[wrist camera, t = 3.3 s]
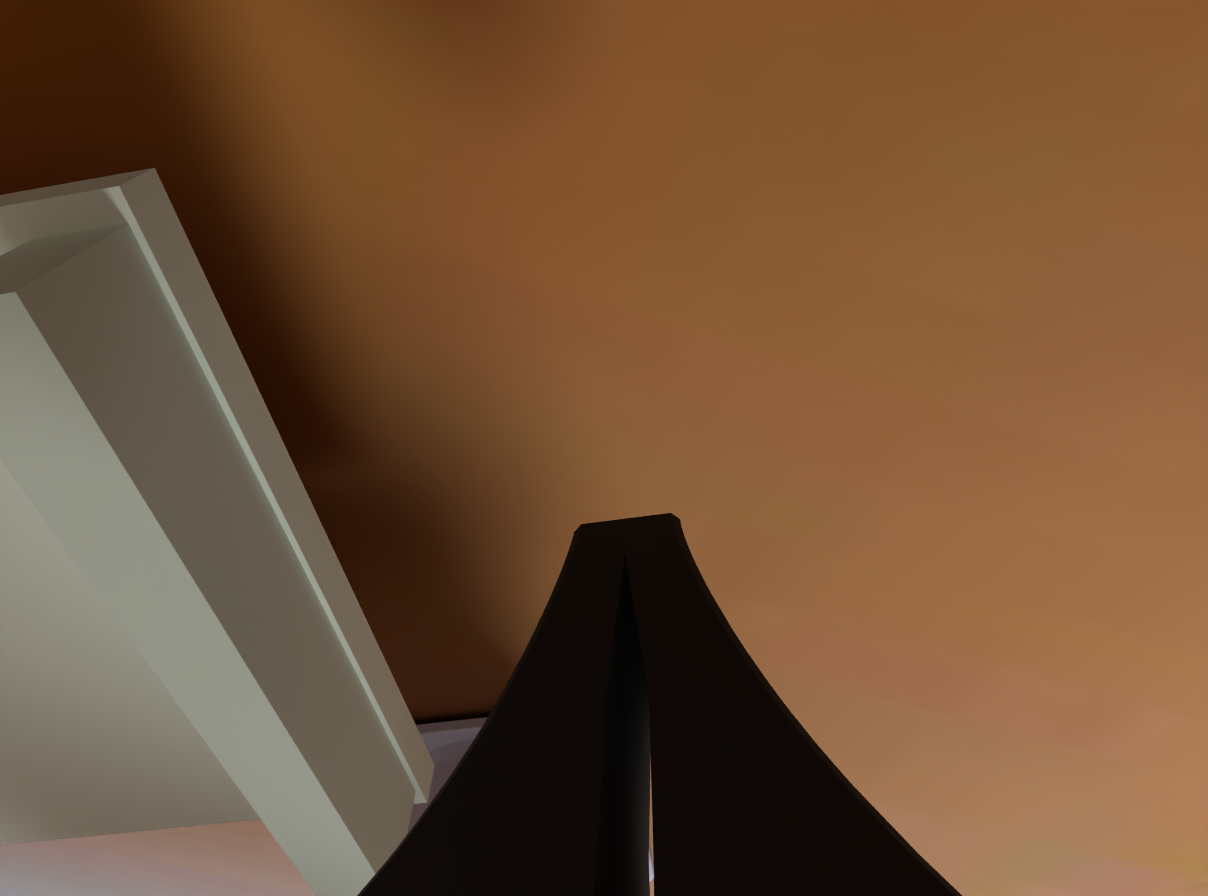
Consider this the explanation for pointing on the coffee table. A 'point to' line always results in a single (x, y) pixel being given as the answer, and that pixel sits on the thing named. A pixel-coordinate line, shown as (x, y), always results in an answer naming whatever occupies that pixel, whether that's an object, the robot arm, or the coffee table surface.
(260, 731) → the lid
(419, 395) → the coffee table surface
